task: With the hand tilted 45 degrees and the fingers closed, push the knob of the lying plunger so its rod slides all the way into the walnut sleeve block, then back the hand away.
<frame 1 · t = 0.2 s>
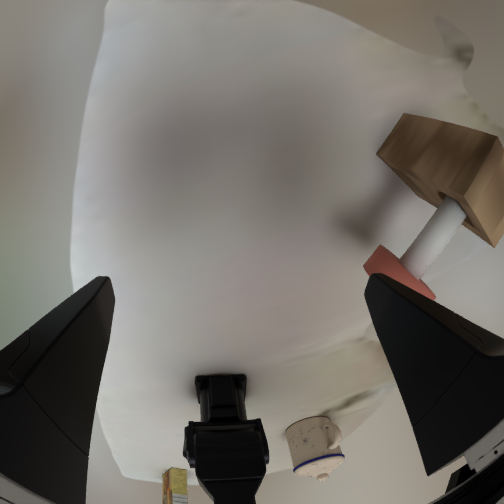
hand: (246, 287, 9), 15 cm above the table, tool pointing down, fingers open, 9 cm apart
candy box: (173, 471, 54), on the table
teacup with lid: (311, 422, 45), on the table
plunger: (427, 247, 18), point 8 cm above the table, slide at 0.0 cm
sleeve: (412, 156, 23), on the table
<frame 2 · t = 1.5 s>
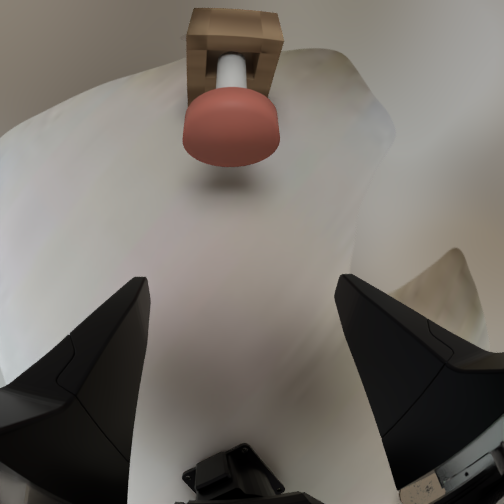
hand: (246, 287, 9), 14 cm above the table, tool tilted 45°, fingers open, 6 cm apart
teacup with lid: (426, 467, 21), on the table
plunger: (231, 95, 18), point 8 cm above the table, slide at 0.0 cm
sleeve: (224, 107, 27), on the table
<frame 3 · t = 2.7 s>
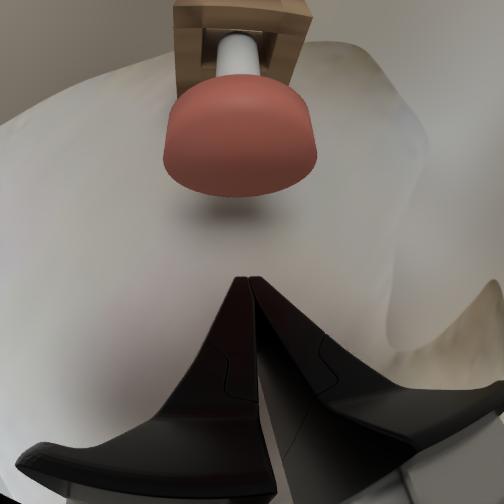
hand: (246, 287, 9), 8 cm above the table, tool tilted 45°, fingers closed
plunger: (238, 91, 12), point 8 cm above the table, slide at 0.0 cm
sleeve: (226, 109, 21), on the table
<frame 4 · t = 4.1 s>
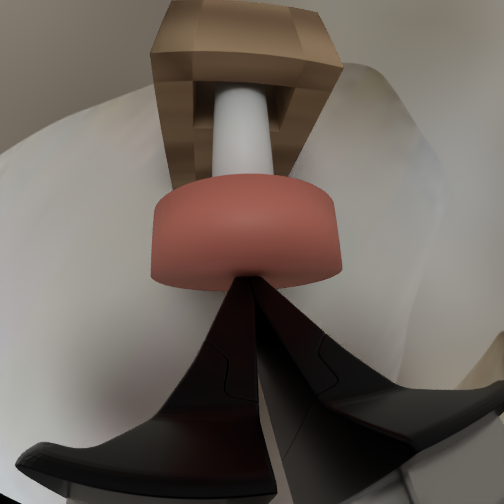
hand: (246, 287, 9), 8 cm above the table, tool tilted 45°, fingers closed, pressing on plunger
plunger: (242, 162, 10), point 8 cm above the table, slide at 0.9 cm, touching gripper
sleeve: (226, 160, 19), on the table
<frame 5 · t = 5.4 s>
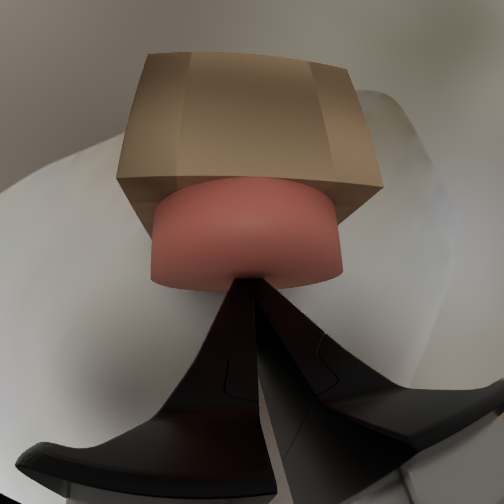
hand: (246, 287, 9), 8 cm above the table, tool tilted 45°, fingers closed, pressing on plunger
plunger: (242, 163, 10), point 8 cm above the table, slide at 6.0 cm, touching gripper, sleeve
sleeve: (227, 228, 18), on the table
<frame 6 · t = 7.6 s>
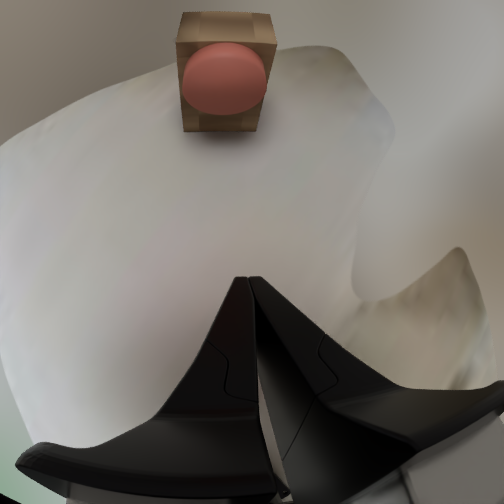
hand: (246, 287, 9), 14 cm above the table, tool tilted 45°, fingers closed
plunger: (224, 55, 19), point 8 cm above the table, slide at 5.8 cm
sleeve: (219, 112, 27), on the table
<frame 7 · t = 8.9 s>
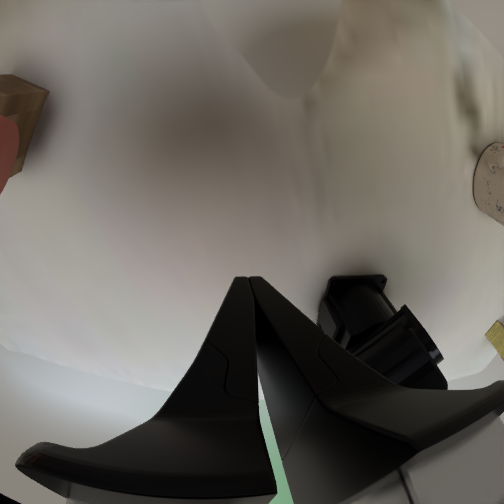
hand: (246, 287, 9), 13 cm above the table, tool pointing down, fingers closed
candy box: (494, 330, 41), on the table
teacup with lid: (487, 171, 23), on the table
sleeve: (13, 122, 15), on the table
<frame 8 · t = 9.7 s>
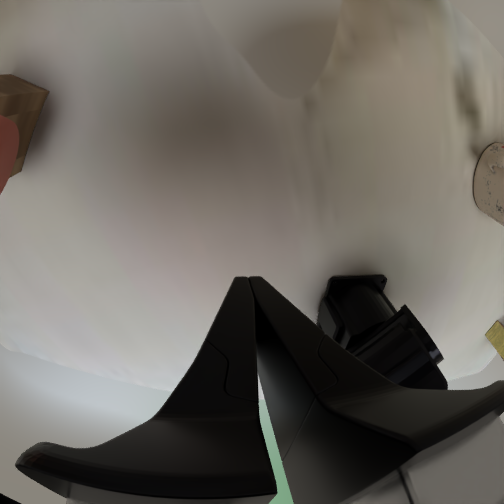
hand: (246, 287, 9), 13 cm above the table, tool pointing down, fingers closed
candy box: (494, 330, 41), on the table
teacup with lid: (487, 171, 23), on the table
sleeve: (13, 122, 15), on the table
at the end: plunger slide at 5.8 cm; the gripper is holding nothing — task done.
